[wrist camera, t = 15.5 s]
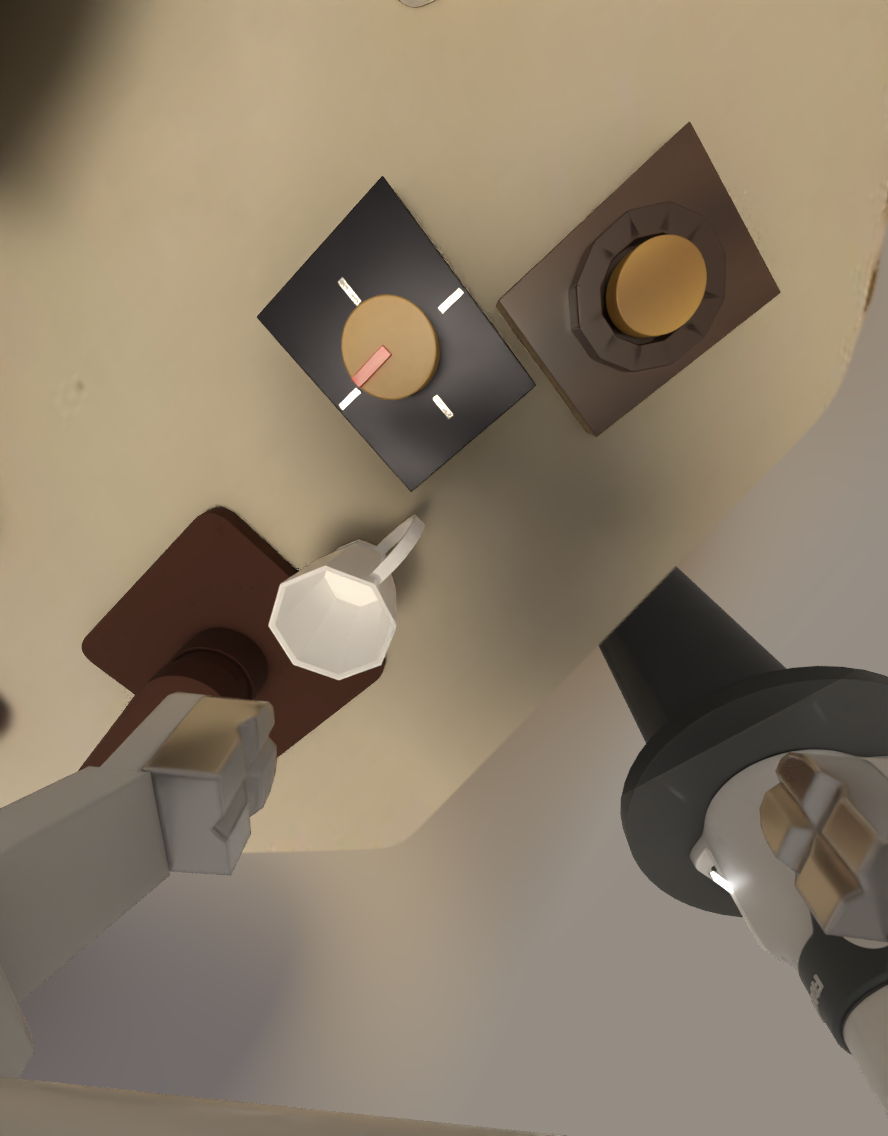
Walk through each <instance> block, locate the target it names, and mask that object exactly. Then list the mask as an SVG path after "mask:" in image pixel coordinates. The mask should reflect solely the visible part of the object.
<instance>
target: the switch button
mask: <svg viewBox="0 0 888 1136" xmlns="http://www.w3.org/2000/svg"><path fill="white" fill-rule="evenodd" d="M706 280H707V272H706V265H705V262H704V259H703V256H702V254H701V253H700V251H699V250H698V248H697V247H696V246H695V245H694V244H693V243H692V242H691V241H689V240H688V239H686V238H684V237H681V236H678V235H660V236H656V237H653V238H651V239H649V240H647V241H645V242H644V243H642V244H641V245H639V246H638V247H636V248H635V249H633V250H632V251H631V252H629V253H628V254H627V255H625V256H624V257H623V258H622V259H621V261H620V262H619V263H618V264H617V266H616V267H615V269H614V270H613V272H612V274H611V276H610V279H609V282H608V286H607V290H606V307H607V311H608V314H609V317H610V319H611V321H612V323H613V324H614V325H615V326H616V328H617V329H618V330H620V331H621V332H622V333H624V334H626V335H628V336H631V337H634V338H649V337H655V336H661V335H665V334H668V333H670V332H673V331H675V330H676V329H678V328H680V327H681V326H682V325H684V324H685V323H686V322H687V321H688V320H689V319H690V318H691V317H692V316H693V314H694V313H695V311H696V310H697V308H698V307H699V305H700V303H701V301H702V298H703V295H704V292H705V288H706Z"/></svg>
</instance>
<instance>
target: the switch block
mask: <svg viewBox="0 0 888 1136" xmlns="http://www.w3.org/2000/svg"><path fill="white" fill-rule="evenodd" d="M660 235H678V236H681V237H684V238H686V239H688V240H689V241H691V242H692V243H693V244H694V245H695V246H696V247H697V248H698V250H699V251H700V253H701V254H702V256H703V259H704V262H705V265H706V272H707V280H706V288H705V292H704V295H703V298H702V301H701V303H700V305H699V307H698V308H697V310H696V311H695V313H694V314H693V316H692V317H691V318H690V319H689V320H688V321H687V322H686V323H685V324H684V325H682V326H681V327H680V328H678V329H676V330H675V331H673V332H670V333H668V334H665V335H661V336H655V337H649V338H634V337H631V336H628V335H626V334H624V333H622V332H621V331H620V330H618V329H617V328H616V326H615V325H614V324H613V323H612V321H611V319H610V317H609V314H608V311H607V307H606V290H607V286H608V282H609V279H610V276H611V274H612V272H613V270H614V269H615V267H616V266H617V264H618V263H619V262H620V261H621V259H622V258H623V257H624V256H625V255H627V254H628V253H629V252H631V251H632V250H633V249H635V248H636V247H638V246H639V245H641V244H642V243H644V242H645V241H647V240H649V239H651V238H653V237H656V236H660ZM779 293H780V290H779V288H778V287H777V285H776V283H775V281H774V279H773V277H772V275H771V273H770V271H769V270H768V268H767V266H766V264H765V262H764V260H763V258H762V256H761V254H760V253H759V251H758V249H757V247H756V245H755V243H754V241H753V239H752V238H751V236H750V234H749V232H748V230H747V228H746V226H745V224H744V222H743V221H742V219H741V217H740V215H739V213H738V211H737V209H736V207H735V205H734V204H733V202H732V200H731V198H730V196H729V194H728V192H727V190H726V189H725V187H724V185H723V183H722V181H721V179H720V177H719V175H718V173H717V172H716V170H715V168H714V166H713V164H712V162H711V160H710V158H709V156H708V155H707V153H706V151H705V149H704V147H703V145H702V143H701V141H700V140H699V138H698V136H697V134H696V132H695V130H694V128H693V126H692V124H691V123H690V122H688V123H687V124H686V125H685V126H684V127H683V128H682V129H681V130H679V131H678V132H677V133H676V134H675V135H674V136H673V137H672V138H671V139H670V140H669V141H668V142H667V143H666V144H665V145H664V146H662V147H661V148H660V149H659V150H658V151H657V152H656V153H655V154H654V155H653V156H652V157H651V158H650V159H649V160H648V161H646V162H645V163H644V164H643V165H642V166H641V167H640V168H639V169H638V170H637V171H636V172H635V173H634V174H633V175H632V176H630V177H629V178H628V179H627V180H626V181H625V182H624V183H623V184H622V185H621V186H620V187H619V188H618V189H617V190H616V191H614V192H613V193H612V194H611V195H610V196H609V197H608V198H607V199H606V200H605V201H604V202H603V203H602V204H601V205H600V206H598V207H597V208H596V209H595V210H594V211H593V212H592V213H591V214H590V215H589V216H588V217H587V218H586V219H585V220H584V221H582V222H581V223H580V224H579V225H578V226H577V227H576V228H575V229H574V230H573V231H572V232H571V233H570V234H569V235H568V236H566V237H565V238H564V239H563V240H562V241H561V242H560V243H559V244H558V245H557V246H556V247H555V248H554V249H553V250H552V251H550V252H549V253H548V254H547V255H546V256H545V257H544V258H543V259H542V260H541V261H540V262H539V263H538V264H537V265H536V266H535V267H533V268H532V269H531V270H530V271H529V272H528V273H527V274H526V275H525V276H524V277H523V278H522V279H521V280H520V281H519V282H517V283H516V284H515V285H514V286H513V287H512V288H511V289H510V290H509V291H508V292H507V293H506V294H505V295H504V296H503V297H501V298H500V299H499V301H498V303H497V305H496V307H497V308H498V310H499V311H500V312H501V314H502V315H503V317H504V318H505V319H506V321H507V322H508V323H509V325H510V326H511V328H512V329H513V330H514V332H515V333H516V335H517V336H518V337H519V339H520V340H521V341H522V343H523V344H524V346H525V347H526V348H527V350H528V351H529V353H530V354H531V355H532V357H533V358H534V359H535V361H536V362H537V364H538V365H539V366H540V368H541V369H542V371H543V372H544V373H545V375H546V376H547V378H548V379H549V380H550V382H551V383H552V384H553V386H554V387H555V389H556V390H557V391H558V393H559V394H560V396H561V397H562V398H563V400H564V401H565V402H566V404H567V405H568V407H569V408H570V409H571V411H572V412H573V414H574V415H575V416H576V418H577V419H578V420H579V422H580V423H581V425H582V426H583V427H584V429H585V430H586V432H588V433H590V434H592V435H594V436H596V437H597V436H598V435H599V434H601V433H602V432H603V431H605V430H606V429H607V428H608V427H610V426H611V425H612V424H614V423H615V422H616V421H617V420H619V419H620V418H621V417H622V416H624V415H625V414H626V413H628V412H629V411H630V410H631V409H633V408H634V407H635V406H637V405H638V404H639V403H640V402H642V401H643V400H644V399H645V398H647V397H648V396H649V395H651V394H652V393H653V392H654V391H656V390H657V389H658V388H659V387H661V386H662V385H663V384H665V383H666V382H667V381H668V380H670V379H671V378H672V377H674V376H675V375H676V374H677V373H679V372H680V371H681V370H682V369H684V368H685V367H686V366H688V365H689V364H690V363H691V362H693V361H694V360H695V359H697V358H698V357H699V356H700V355H702V354H703V353H704V352H705V351H707V350H708V349H709V348H711V347H712V346H713V345H714V344H716V343H717V342H718V341H720V340H721V339H722V338H723V337H725V336H726V335H727V334H728V333H730V332H731V331H732V330H734V329H735V328H736V327H737V326H739V325H740V324H741V323H742V322H744V321H745V320H746V319H748V318H749V317H750V316H751V315H753V314H754V313H755V312H757V311H758V310H759V309H760V308H762V307H763V306H764V305H765V304H767V303H768V302H769V301H771V300H772V299H773V298H774V297H776V296H777V295H778V294H779Z"/></svg>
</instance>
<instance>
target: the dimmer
mask: <svg viewBox="0 0 888 1136" xmlns="http://www.w3.org/2000/svg"><path fill="white" fill-rule="evenodd" d="M384 294H390V295H397V296H401V297H403V298H406V299H408V300H410V301H411V302H413V303H414V304H416V305H417V306H418V307H419V308H420V309H421V310H422V311H423V312H424V313H425V315H426V316H427V317H428V319H429V320H430V322H431V323H432V325H433V326H434V328H435V330H436V333H437V335H438V339H439V343H440V360H439V365H438V368H437V371H436V373H435V375H434V377H433V378H432V380H431V381H430V382H429V383H428V384H427V385H426V386H425V387H424V388H423V389H421V390H420V391H418V392H416V393H414V394H412V395H410V396H408V397H406V398H402V399H398V400H385V399H380V398H376V397H374V396H371V395H370V394H368V393H366V392H365V391H363V390H362V389H361V388H359V387H358V386H357V385H356V384H355V383H354V382H353V381H352V380H351V377H350V375H349V373H348V371H347V369H346V367H345V364H344V361H343V357H342V350H341V339H342V333H343V329H344V326H345V323H346V321H347V319H348V317H349V316H350V314H351V313H352V312H353V310H354V309H355V308H356V307H357V306H358V305H359V304H361V303H362V302H363V301H365V300H367V299H369V298H371V297H374V296H377V295H384ZM257 318H258V319H259V320H260V322H261V323H262V324H263V325H264V326H265V327H266V328H267V329H268V331H269V332H270V333H271V334H272V335H273V336H274V337H275V339H276V340H277V341H278V342H279V343H280V344H281V345H282V346H283V348H284V349H285V350H286V351H287V352H288V353H289V354H290V356H291V357H292V358H293V359H294V360H295V361H296V362H297V363H298V365H299V366H300V367H301V368H302V369H303V370H304V371H305V372H306V374H307V375H308V376H309V377H310V378H311V379H312V380H313V382H314V383H315V384H316V385H317V386H318V387H319V388H320V389H321V391H322V392H323V393H324V394H325V395H326V396H327V397H328V398H329V400H330V401H331V402H332V403H333V404H334V405H335V406H336V408H337V409H338V410H339V411H340V412H341V413H342V414H343V415H344V417H345V418H346V419H347V420H348V421H349V422H350V423H351V424H352V426H353V427H354V428H355V429H356V430H357V431H358V432H359V434H360V435H361V436H362V437H363V438H364V439H365V440H366V441H367V443H368V444H369V445H370V446H371V447H372V448H373V449H374V451H375V452H376V453H377V454H378V455H379V456H380V457H381V458H382V460H383V461H384V462H385V463H386V464H387V465H388V466H389V467H390V469H391V470H392V471H393V472H394V473H395V474H396V475H397V477H398V478H399V479H400V480H401V481H402V482H403V483H404V484H405V486H406V487H407V488H408V489H409V490H410V491H411V492H412V491H413V490H414V489H415V488H417V487H418V486H419V485H420V484H421V483H423V482H424V481H425V480H426V479H427V478H428V477H430V476H431V475H432V474H433V473H434V472H435V471H437V470H438V469H439V468H440V467H441V466H442V465H444V464H445V463H446V462H447V461H448V460H449V459H451V458H452V457H453V456H454V455H455V454H457V453H458V452H459V451H460V450H461V449H462V448H464V447H465V446H466V445H467V444H468V443H469V442H471V441H472V440H473V439H474V438H475V437H476V436H478V435H479V434H480V433H481V432H482V431H484V430H485V429H486V428H487V427H488V426H489V425H491V424H492V423H493V422H494V421H495V420H496V419H498V418H499V417H500V416H501V415H502V414H503V413H505V412H506V411H507V410H508V409H509V408H510V407H512V406H513V405H514V404H515V403H516V402H518V401H519V400H520V399H521V398H522V397H523V396H525V395H526V394H527V393H528V392H529V391H530V390H532V389H533V388H534V387H535V386H536V384H535V383H534V381H533V380H532V379H531V377H530V376H529V375H528V373H527V372H526V370H525V369H524V368H523V366H522V365H521V364H520V362H519V361H518V360H517V358H516V357H515V355H514V354H513V353H512V351H511V350H510V349H509V347H508V346H507V345H506V343H505V342H504V340H503V339H502V338H501V336H500V335H499V334H498V332H497V331H496V330H495V328H494V327H493V325H492V324H491V323H490V321H489V320H488V319H487V317H486V316H485V315H484V313H483V312H482V310H481V309H480V308H479V306H478V305H477V304H476V302H475V301H474V299H473V298H472V297H471V295H470V294H469V293H468V291H467V290H466V289H465V287H464V286H463V284H462V283H461V282H460V280H459V279H458V278H457V276H456V275H455V274H454V272H453V271H452V269H451V268H450V267H449V265H448V264H447V263H446V261H445V260H444V259H443V257H442V256H441V254H440V253H439V252H438V250H437V249H436V248H435V246H434V245H433V244H432V242H431V241H430V239H429V238H428V237H427V235H426V234H425V233H424V231H423V230H422V229H421V227H420V226H419V224H418V223H417V222H416V220H415V219H414V218H413V216H412V215H411V214H410V212H409V211H408V209H407V208H406V207H405V205H404V204H403V203H402V201H401V200H400V199H399V197H398V196H397V194H396V193H395V192H394V190H393V189H392V188H391V186H390V185H389V184H388V182H387V181H386V179H385V178H384V177H383V176H382V177H381V178H380V179H379V180H378V181H377V182H376V184H375V185H374V186H373V187H372V188H371V189H370V190H369V191H368V193H367V194H366V195H365V196H364V197H363V198H362V199H361V200H360V202H359V203H358V204H357V205H356V206H355V207H354V208H353V209H352V210H351V212H350V213H349V214H348V215H347V216H346V217H345V218H344V219H343V221H342V222H341V223H340V224H339V225H338V226H337V227H336V228H335V230H334V231H333V232H332V233H331V234H330V235H329V236H328V237H327V239H326V240H325V241H324V242H323V243H322V244H321V245H320V246H319V248H318V249H317V250H316V251H315V252H314V253H313V254H312V255H311V257H310V258H309V259H308V260H307V261H306V262H305V263H304V264H303V266H302V267H301V268H300V269H299V270H298V271H297V272H296V273H295V274H294V276H293V277H292V278H291V279H290V280H289V281H288V282H287V283H286V285H285V286H284V287H283V288H282V289H281V290H280V291H279V292H278V294H277V295H276V296H275V297H274V298H273V299H272V300H271V301H270V303H269V304H268V305H267V306H266V307H265V308H264V309H263V310H262V312H261V313H260V314H259V315H258V316H257Z"/></svg>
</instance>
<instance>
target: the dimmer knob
mask: <svg viewBox="0 0 888 1136" xmlns="http://www.w3.org/2000/svg"><path fill="white" fill-rule="evenodd" d="M341 350H342V357H343V361H344V364H345V367H346V369H347V371H348V373H349V375H350V377H351V380H352V381H353V382H354V383H355V384H356V385H357V386H358V387H359V388H361V389H362V390H363V391H365V392H366V393H368V394H370V395H371V396H374V397H376V398H380V399H385V400H398V399H402V398H406V397H408V396H410V395H412V394H414V393H416V392H418V391H420V390H421V389H423V388H424V387H425V386H426V385H427V384H428V383H429V382H430V381H431V380H432V378H433V377H434V375H435V373H436V371H437V368H438V365H439V360H440V343H439V339H438V335H437V333H436V330H435V328H434V326H433V325H432V323H431V322H430V320H429V319H428V317H427V316H426V315H425V313H424V312H423V311H422V310H421V309H420V308H419V307H418V306H417V305H416V304H414V303H413V302H411V301H410V300H408V299H406V298H403V297H401V296H397V295H390V294H384V295H377V296H374V297H371V298H369V299H367V300H365V301H363V302H362V303H361V304H359V305H358V306H357V307H356V308H355V309H354V310H353V312H352V313H351V314H350V316H349V317H348V319H347V321H346V323H345V326H344V329H343V333H342V339H341Z"/></svg>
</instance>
